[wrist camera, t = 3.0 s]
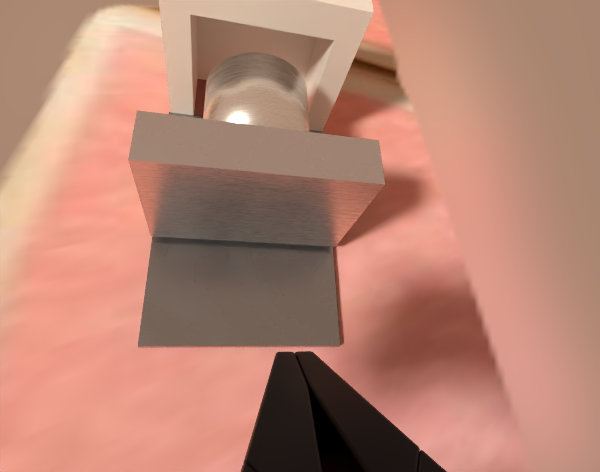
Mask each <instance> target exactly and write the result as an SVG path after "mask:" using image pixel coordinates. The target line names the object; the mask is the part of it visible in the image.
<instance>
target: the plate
mask: <svg viewBox="0 0 600 472" xmlns="http://www.w3.org/2000/svg"><path fill="white" fill-rule="evenodd" d="M169 115H177V116H185V117H193V118H201V119H203V116H196V115H188V114H180V113H172V112H169ZM309 131H310V132H314V133H322V134H324V132H323V131H315V130H309ZM339 346H340V336H339V323H338V310H337V296H336V283H335V270H334V257H333V247H329V246H311V245H294V244H277V243H259V242H242V241H224V240H207V239H189V238H172V237H154V236H153V237H152V244H151V252H150V259H149V267H148V274H147V282H146V289H145V296H144V304H143V311H142V319H141V326H140V334H139V341H138V347H339Z"/></svg>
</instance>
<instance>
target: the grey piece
mask: <svg viewBox="0 0 600 472" xmlns="http://www.w3.org/2000/svg"><path fill="white" fill-rule="evenodd" d="M128 160H129V163H130V167H131V170H132V174H133V177H134V180H135V184H136V187H137V190H138V194H139V197H140V201H141V204H142V207H143V211H144V214H145V217H146V221H147V224H148V228H149V231H150V234H151V236H154V237H172V238H189V239H207V240H224V241H242V242H259V243H277V244H294V245H311V246H329V247H336V245H337V244H338V243H339V242H340V240H341V239H342V238H343V237H344V235H345V234H346V233H347V232H348V231H349V229H350V228H351V227H352V226H353V224H354V223H355V222H356V221H357V219H358V218H359V217H360V216H361V214H362V213H363V212H364V211H365V209H366V208H367V207H368V206H369V204H370V203H371V202H372V201H373V199H374V198H375V197H376V196H377V194H378V193H379V192H380V191H381V189H382V188H383V187H384V186H385V179H384V172H383V165H382V159H381V152H380V145H379V140H371V139H363V138H355V137H347V136H339V135H330V134H322V133H314V132H310V131H309V114H308V96H307V86H306V83H305V80H304V78H303V77H302V75H301V74H300V72H299V71H298V70H297V69H296V68H295V67H294V66H293V65H291V64H290V63H288V62H287V61H285V60H283V59H281V58H279V57H276V56H273V55H270V54H265V53H254V52H249V53H241V54H237V55H234V56H231V57H228V58H226V59H224V60H223V61H221V62H220V63H218V64H217V65H216V66H215V67H214V68H213V69H212V71H211V72H210V74H209V76H208V78H207V82H206V91H205V103H204V114H203V119H201V118H193V117H185V116H177V115H169V114H161V113H153V112H145V111H137V114H136V120H135V125H134V131H133V137H132V142H131V148H130V154H129V159H128Z"/></svg>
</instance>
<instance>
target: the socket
mask: <svg viewBox="0 0 600 472" xmlns="http://www.w3.org/2000/svg"><path fill="white" fill-rule="evenodd" d="M159 8H160V17H161V27H162V36H163V45H164V54H165V64H166V73H167V82H168V92H169V101H170V110H171V112H172V113H180V114H188V115H194V110H195V100H196V90H197V80H198V79H203V80H207V78H208V76H209V74H210V72H211V71H212V69H213V68H214V67H215V66H216V65H217V64H218V63H220V62H221V61H223V60H224V59H226V58H228V57H231V56H234V55H237V54H241V53H249V52H254V53H265V54H270V55H273V56H276V57H279V58H281V59H283V60H285V61H287V62H288V63H290V64H291V65H293V66H294V67H295V68H296V69H297V70H298V71H299V72H300V74H301V75H302V77H303V78H304V80H305V83H306V86H307V96H308V114H309V130H315V131H323V130H324V127H325V125H326V123H327V120H328V118H329V116H330V113H331V111H332V109H333V106H334V104H335V102H336V99H337V97H338V95H339V92H340V90H341V88H342V85H343V83H344V81H345V78H346V76H347V74H348V71H349V69H350V67H351V64H352V62H353V60H354V57H355V55H356V53H357V50H358V48H359V46H360V43H361V41H362V39H363V36H364V34H365V32H366V29H367V27H368V24H369V22H370V20H371V17H372V15H373V13H374V12H373V6H372V0H159Z"/></svg>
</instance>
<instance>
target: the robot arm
mask: <svg viewBox="0 0 600 472" xmlns="http://www.w3.org/2000/svg"><path fill="white" fill-rule="evenodd" d="M419 450H420V449H419V447H418V446H417V445H416V444H415V443H414V442H412V441H411V440H410V439H409V438H408V437H407V436H406V435H405V434H404V433H402V432H401V431H400V430H399V429H398V428H397V427H396V426H395V425H394V424H392V423H391V422H390V421H389V420H388V419H387V418H386V417H385V416H383V415H382V414H381V413H380V412H379V411H378V410H377V409H376V408H375V407H373V406H372V405H371V404H370V403H369V402H368V401H367V400H366V399H365V398H363V397H362V396H361V395H360V394H359V393H358V392H357V391H356V390H354V389H353V388H352V387H351V386H350V385H349V384H348V383H347V382H346V381H344V380H343V379H342V378H341V377H340V376H339V375H338V374H337V373H336V372H334V371H333V370H332V369H331V368H330V367H329V366H328V365H327V364H326V363H324V362H323V361H322V360H321V359H320V358H319V357H318V356H317V355H315V354H314V353H313V352H310V351H306V352H296V353H295V354H294V353H293V352H278V353H276V356H275V359H274V362H273V366H272V369H271V373H270V376H269V379H268V383H267V386H266V389H265V393H264V396H263V399H262V403H261V406H260V409H259V413H258V416H257V419H256V423H255V426H254V429H253V433H252V436H251V440H250V443H249V446H248V450H247V453H246V456H245V460H244V464H243V466H242V469H241V472H446V471H445V470H444V469H443V468H442V467H441V466H439V465H438V464H437V463H436V462H435V461H434V460H433V459H432V458H430V457H429V456H428V455H427V454H426V453H425V452H424V451H422V450H421V451H420V452H419Z"/></svg>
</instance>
